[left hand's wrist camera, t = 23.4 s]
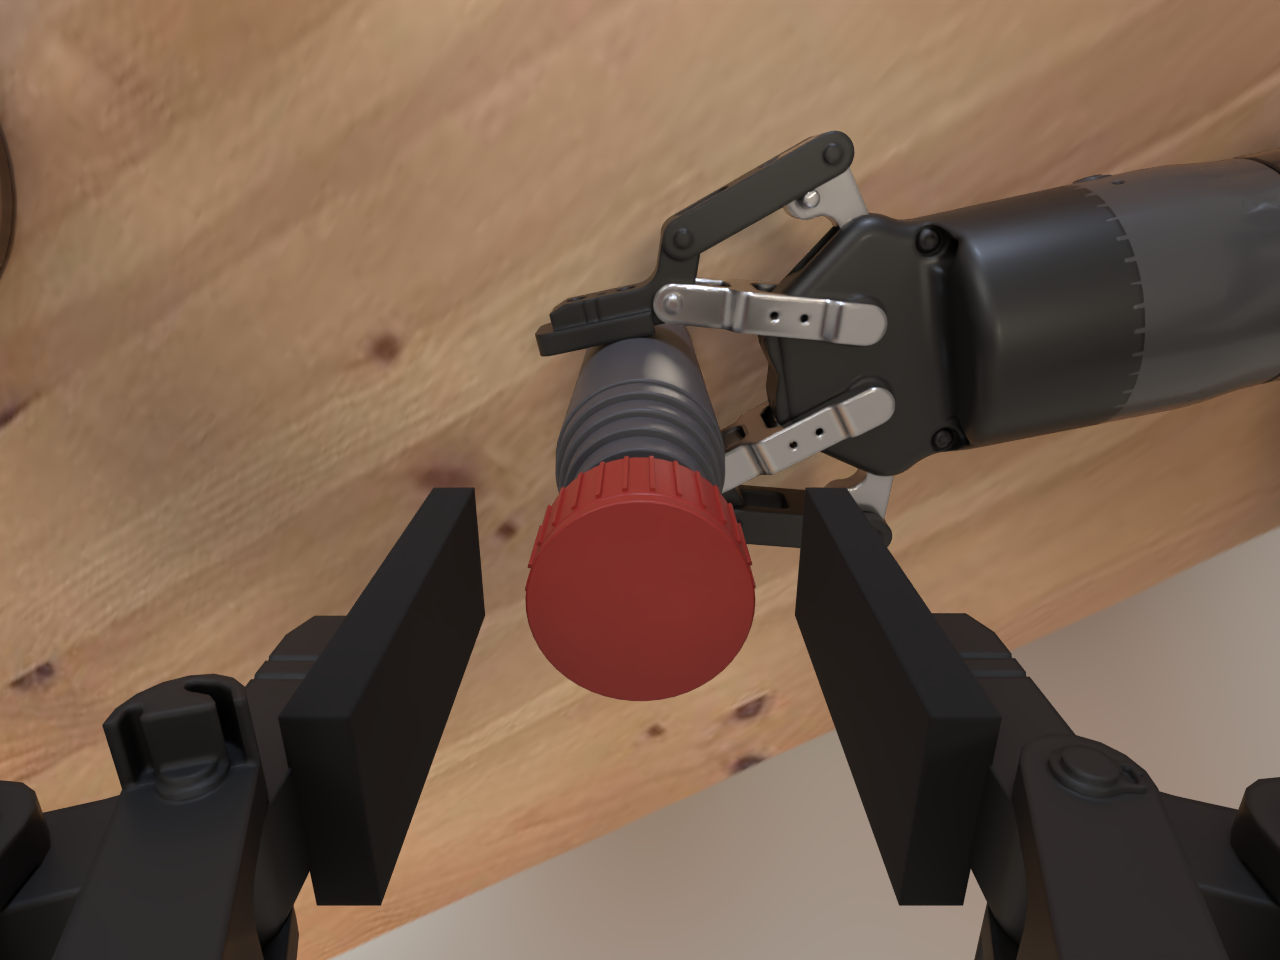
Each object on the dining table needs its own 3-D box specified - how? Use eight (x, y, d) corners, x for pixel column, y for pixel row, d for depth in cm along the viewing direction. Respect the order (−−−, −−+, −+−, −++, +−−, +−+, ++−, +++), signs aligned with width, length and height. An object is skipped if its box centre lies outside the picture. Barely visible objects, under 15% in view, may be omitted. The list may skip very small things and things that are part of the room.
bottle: (631, 423, 33) (620, 725, 15) (567, 344, 32) (466, 566, 13) (713, 362, 32) (810, 604, 14) (650, 279, 31) (663, 419, 12)
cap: (563, 651, 16) (552, 720, 14) (515, 473, 14) (495, 520, 12) (755, 620, 15) (772, 685, 13) (725, 435, 14) (740, 478, 12)
